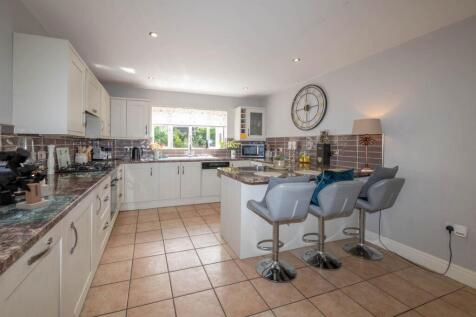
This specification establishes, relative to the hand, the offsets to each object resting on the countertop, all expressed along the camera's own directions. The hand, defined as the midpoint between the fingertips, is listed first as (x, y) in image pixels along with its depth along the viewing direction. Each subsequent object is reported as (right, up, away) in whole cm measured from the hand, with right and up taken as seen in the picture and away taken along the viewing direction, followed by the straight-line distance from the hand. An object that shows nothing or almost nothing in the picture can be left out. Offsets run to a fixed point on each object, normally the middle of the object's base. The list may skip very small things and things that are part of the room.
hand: (35, 190), depth 121 cm
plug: (-1, -7, +1) cm, 7 cm away
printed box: (-17, -7, +22) cm, 29 cm away
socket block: (-1, -9, +1) cm, 9 cm away
